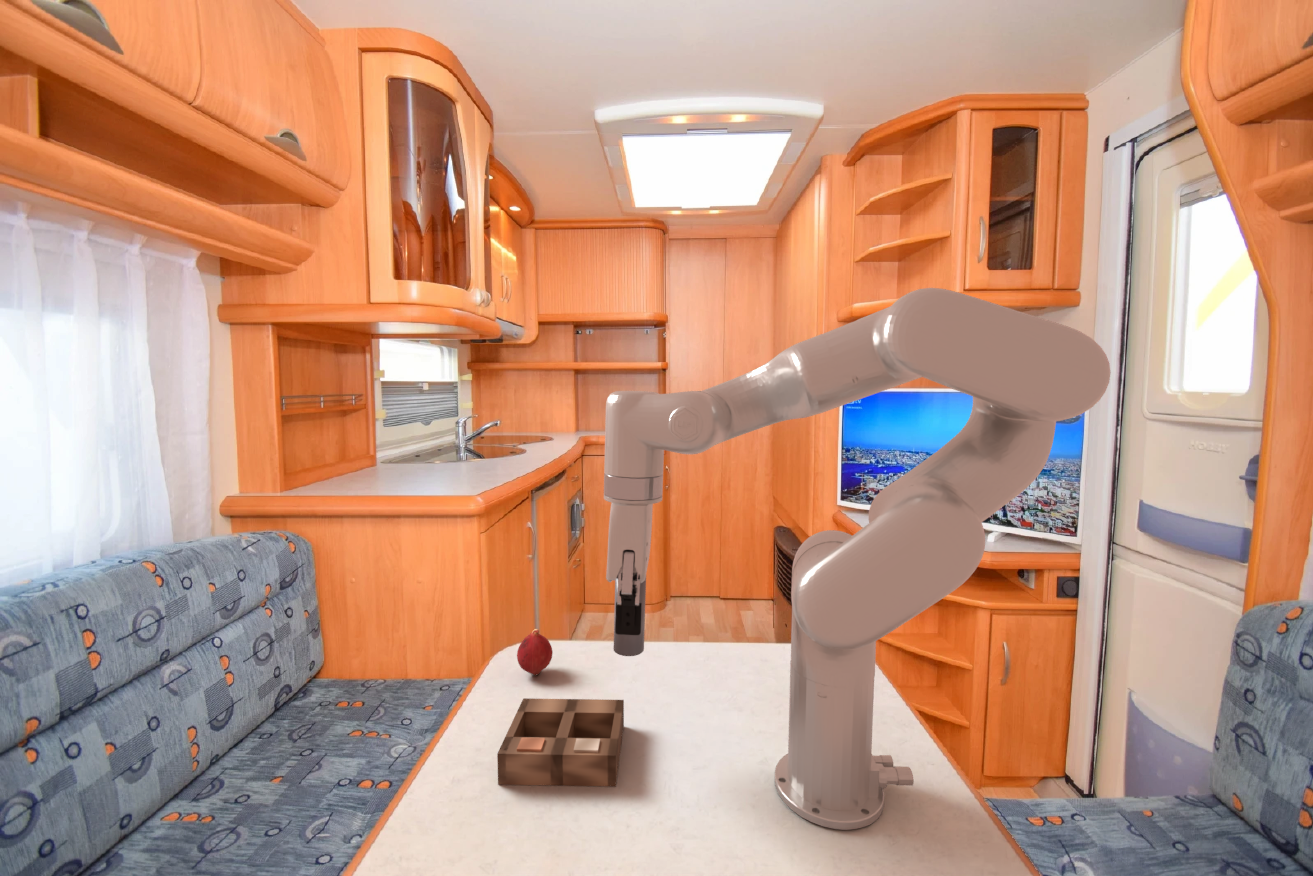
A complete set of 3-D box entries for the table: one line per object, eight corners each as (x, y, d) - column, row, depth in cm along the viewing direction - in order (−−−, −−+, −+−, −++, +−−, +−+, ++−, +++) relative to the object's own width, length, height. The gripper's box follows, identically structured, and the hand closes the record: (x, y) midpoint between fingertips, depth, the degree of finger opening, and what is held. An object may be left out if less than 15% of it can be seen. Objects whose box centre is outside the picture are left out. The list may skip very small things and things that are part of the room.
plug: (644, 642, 73) (646, 570, 72) (643, 657, 69) (645, 580, 68) (615, 641, 73) (616, 569, 72) (611, 655, 69) (613, 579, 68)
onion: (520, 686, 89) (520, 639, 88) (514, 670, 94) (514, 625, 93) (556, 679, 91) (555, 633, 90) (548, 663, 96) (547, 620, 96)
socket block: (623, 726, 78) (623, 697, 78) (615, 786, 66) (615, 753, 66) (523, 724, 78) (523, 696, 78) (498, 784, 66) (497, 751, 66)
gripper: (611, 476, 78) (608, 599, 79) (594, 500, 61) (591, 656, 63) (663, 478, 77) (659, 602, 79) (661, 502, 61) (656, 658, 62)
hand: (629, 624), depth 71 cm, fingers closed on plug, 4 cm apart
